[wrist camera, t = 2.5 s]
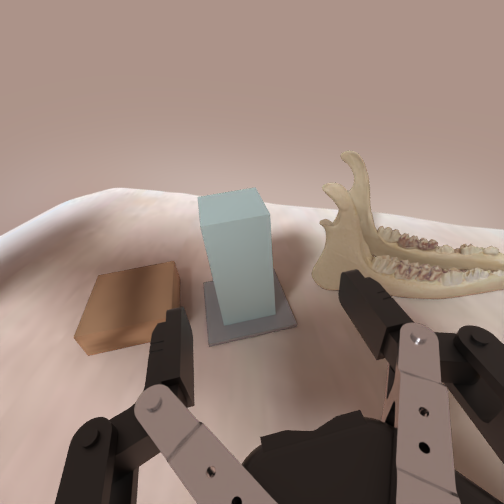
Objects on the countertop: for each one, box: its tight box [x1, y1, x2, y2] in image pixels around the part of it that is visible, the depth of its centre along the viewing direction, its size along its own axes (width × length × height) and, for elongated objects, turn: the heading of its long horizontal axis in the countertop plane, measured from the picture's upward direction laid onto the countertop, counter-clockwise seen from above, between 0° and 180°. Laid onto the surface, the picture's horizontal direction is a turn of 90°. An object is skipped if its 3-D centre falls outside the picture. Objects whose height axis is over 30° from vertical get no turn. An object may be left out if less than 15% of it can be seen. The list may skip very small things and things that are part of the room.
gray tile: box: [204, 268, 297, 346], centre depth 30 cm, size 9×9×1 cm
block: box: [198, 188, 276, 326], centre depth 27 cm, size 6×6×12 cm
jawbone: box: [312, 151, 504, 299], centre depth 27 cm, size 25×10×14 cm, turn 65°
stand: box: [74, 261, 180, 356], centre depth 30 cm, size 9×9×3 cm
